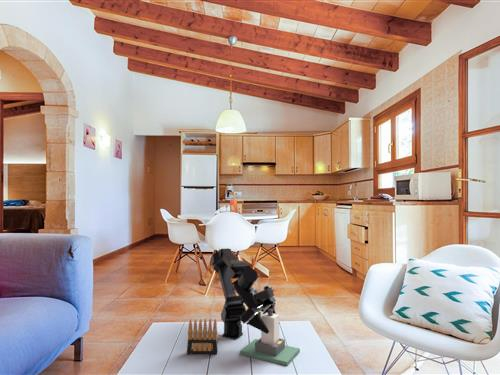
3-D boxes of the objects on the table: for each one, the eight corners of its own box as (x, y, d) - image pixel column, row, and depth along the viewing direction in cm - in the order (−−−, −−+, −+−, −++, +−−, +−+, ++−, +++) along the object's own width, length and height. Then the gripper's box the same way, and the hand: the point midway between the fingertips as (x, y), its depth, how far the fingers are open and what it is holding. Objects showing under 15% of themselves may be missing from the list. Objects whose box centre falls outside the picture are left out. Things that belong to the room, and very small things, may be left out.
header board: (239, 354, 117) (240, 341, 117) (255, 341, 127) (255, 330, 127) (287, 365, 108) (287, 352, 108) (299, 351, 119) (299, 339, 119)
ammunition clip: (217, 352, 118) (217, 318, 119) (217, 354, 116) (217, 320, 117) (187, 352, 118) (188, 318, 119) (186, 354, 116) (187, 319, 117)
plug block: (261, 350, 117) (261, 310, 118) (266, 345, 121) (266, 306, 122) (274, 353, 115) (274, 312, 115) (279, 348, 118) (279, 308, 119)
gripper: (248, 284, 113) (277, 323, 107) (271, 274, 129) (297, 307, 123) (228, 304, 116) (256, 343, 110) (253, 292, 132) (278, 325, 127)
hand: (273, 328), depth 117 cm, fingers open, 9 cm apart
